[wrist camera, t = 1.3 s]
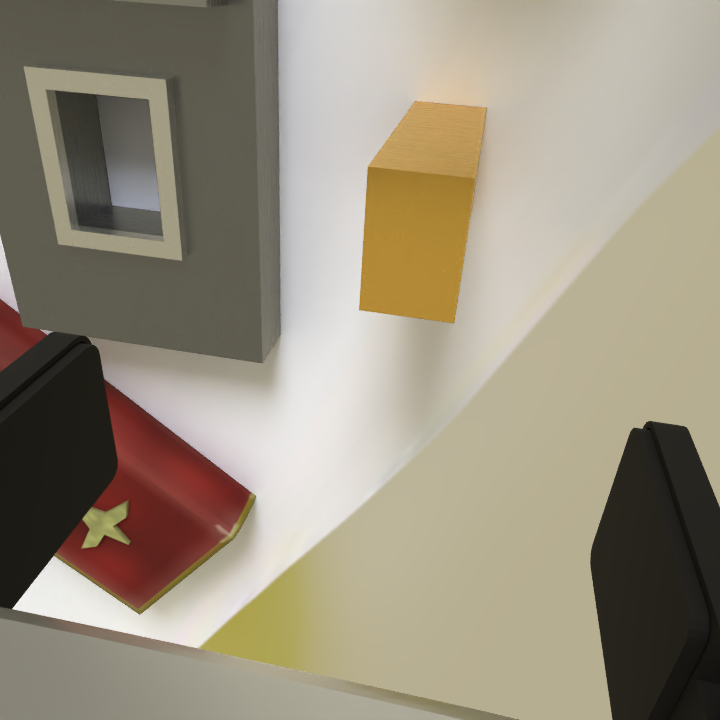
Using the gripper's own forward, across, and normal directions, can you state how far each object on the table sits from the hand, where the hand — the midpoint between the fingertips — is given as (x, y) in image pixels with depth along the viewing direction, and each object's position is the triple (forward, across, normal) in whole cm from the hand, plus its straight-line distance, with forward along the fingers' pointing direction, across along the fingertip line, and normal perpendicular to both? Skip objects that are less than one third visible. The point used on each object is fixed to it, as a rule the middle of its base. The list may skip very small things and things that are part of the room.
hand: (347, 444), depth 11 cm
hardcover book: (+21, +21, +20) cm, 36 cm away
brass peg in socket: (+20, 0, 0) cm, 20 cm away
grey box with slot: (+20, +14, +1) cm, 25 cm away
